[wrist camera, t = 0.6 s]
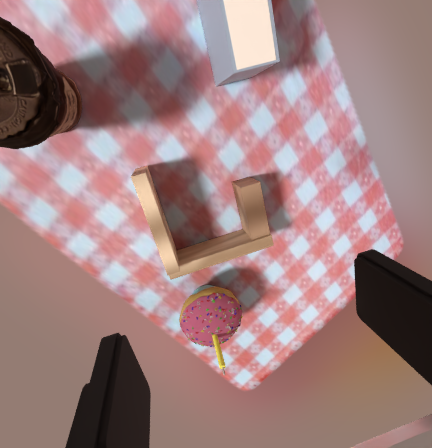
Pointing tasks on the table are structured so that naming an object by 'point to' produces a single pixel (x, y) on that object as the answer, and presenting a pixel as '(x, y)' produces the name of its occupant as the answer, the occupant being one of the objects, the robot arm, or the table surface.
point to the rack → (215, 248)
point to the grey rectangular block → (239, 37)
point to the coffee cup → (32, 93)
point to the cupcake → (211, 317)
